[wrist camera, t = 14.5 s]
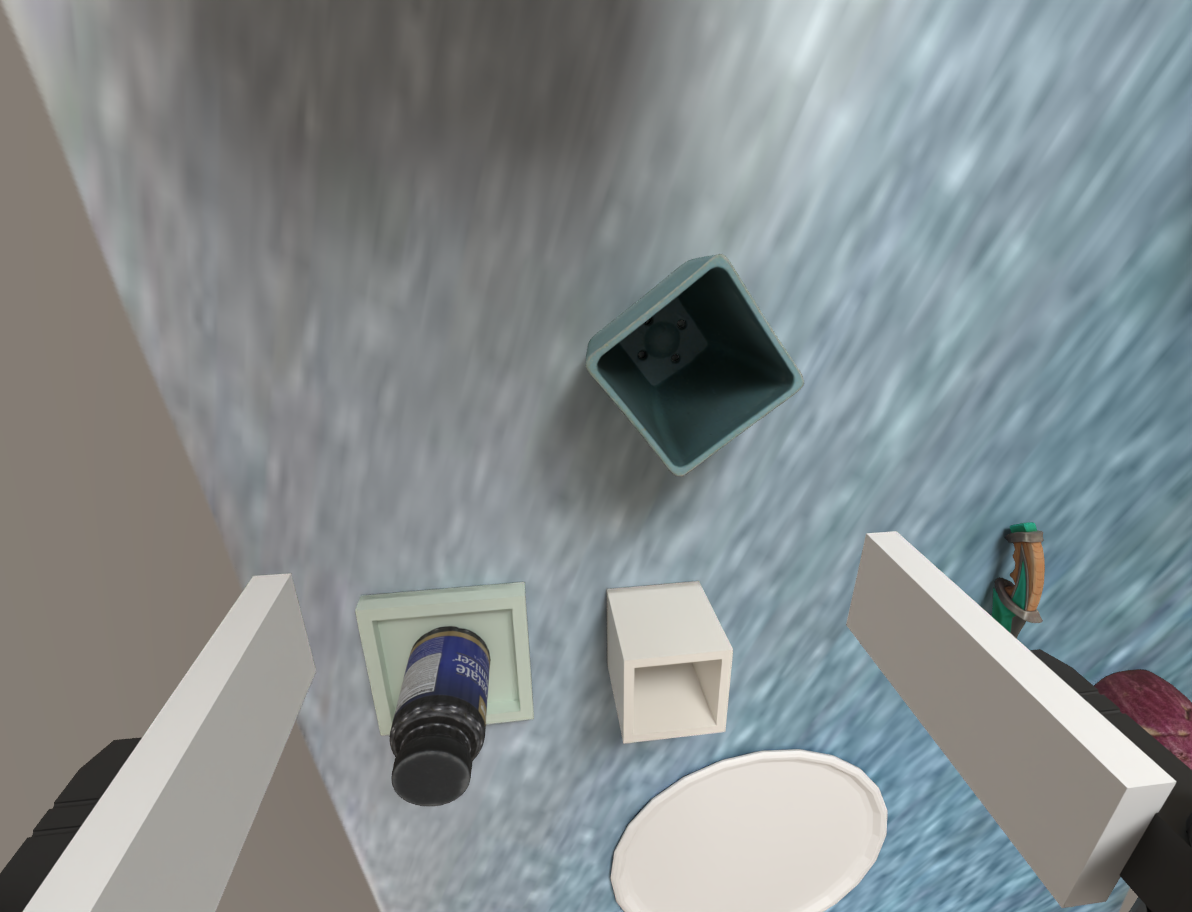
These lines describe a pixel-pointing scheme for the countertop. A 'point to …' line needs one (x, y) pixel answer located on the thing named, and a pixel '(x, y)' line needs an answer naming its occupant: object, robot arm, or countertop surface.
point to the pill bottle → (440, 716)
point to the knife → (1021, 581)
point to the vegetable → (1153, 708)
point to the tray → (480, 609)
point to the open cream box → (667, 661)
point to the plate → (753, 837)
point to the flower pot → (693, 363)
